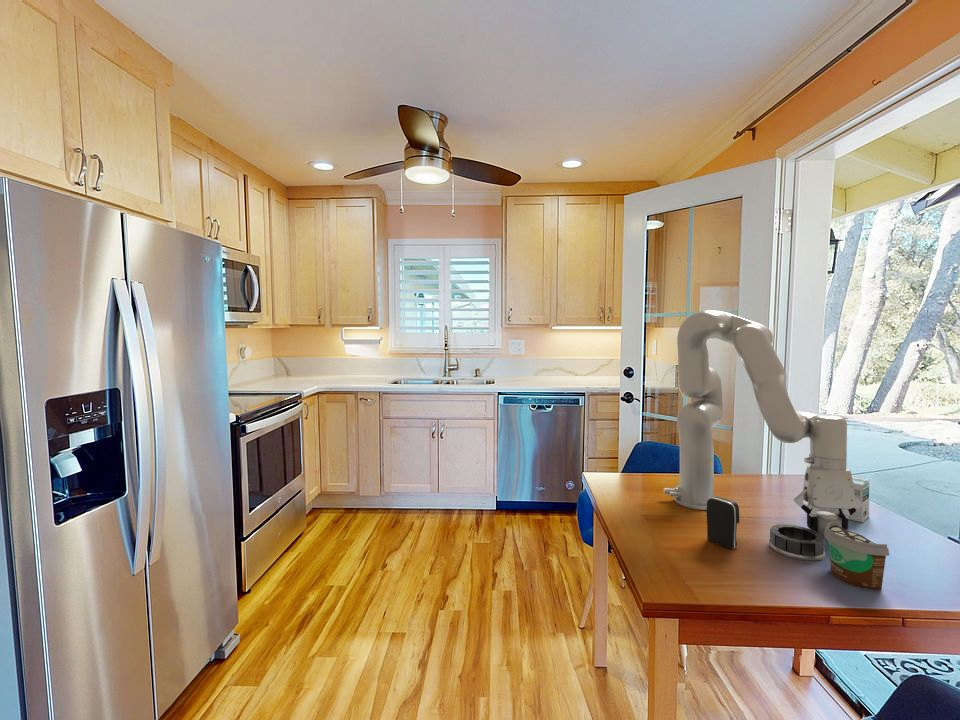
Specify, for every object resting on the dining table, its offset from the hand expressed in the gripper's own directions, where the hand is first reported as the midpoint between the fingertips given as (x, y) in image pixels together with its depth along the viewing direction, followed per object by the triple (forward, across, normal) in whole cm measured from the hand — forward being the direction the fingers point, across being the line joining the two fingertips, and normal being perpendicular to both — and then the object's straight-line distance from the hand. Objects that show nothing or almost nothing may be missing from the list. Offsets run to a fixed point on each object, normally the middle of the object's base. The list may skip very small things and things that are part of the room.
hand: (827, 530), depth 116 cm
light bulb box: (+1, +11, +14) cm, 18 cm away
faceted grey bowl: (+1, -12, -11) cm, 16 cm away
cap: (+1, 0, 0) cm, 1 cm away
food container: (+1, -8, -24) cm, 25 cm away
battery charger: (+1, -28, -10) cm, 30 cm away
